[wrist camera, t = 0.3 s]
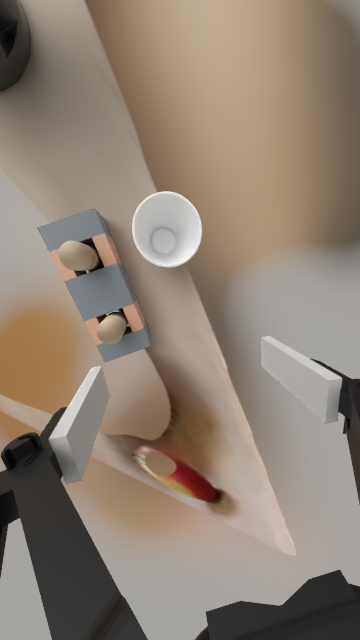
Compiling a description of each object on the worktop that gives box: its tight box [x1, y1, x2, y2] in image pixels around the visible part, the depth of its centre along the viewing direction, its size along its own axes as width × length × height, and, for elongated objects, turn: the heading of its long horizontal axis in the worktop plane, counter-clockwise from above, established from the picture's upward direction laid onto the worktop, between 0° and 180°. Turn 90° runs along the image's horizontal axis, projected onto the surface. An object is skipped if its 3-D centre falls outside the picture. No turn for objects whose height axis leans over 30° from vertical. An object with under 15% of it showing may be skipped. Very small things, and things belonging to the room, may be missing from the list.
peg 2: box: [97, 312, 128, 344], centre depth 34 cm, size 4×4×6 cm
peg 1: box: [59, 241, 100, 271], centre depth 30 cm, size 4×4×6 cm
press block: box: [38, 209, 151, 362], centre depth 36 cm, size 24×9×6 cm, turn 19°
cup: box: [132, 191, 202, 268], centre depth 33 cm, size 10×10×11 cm
